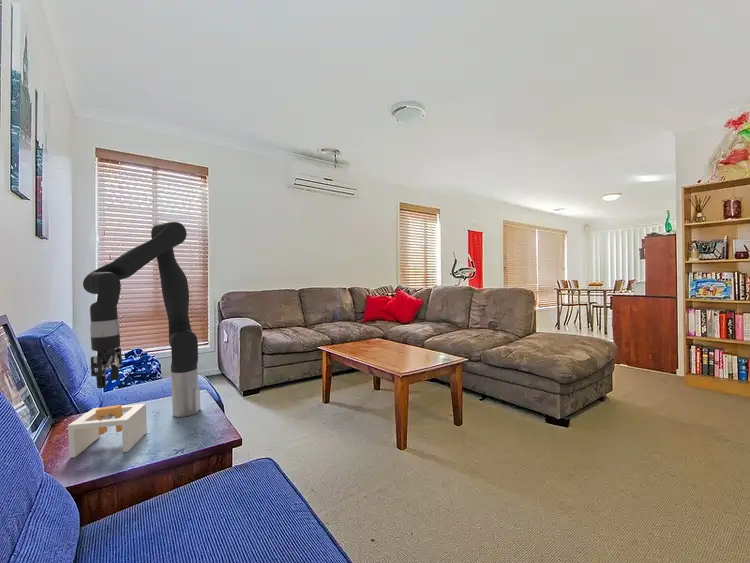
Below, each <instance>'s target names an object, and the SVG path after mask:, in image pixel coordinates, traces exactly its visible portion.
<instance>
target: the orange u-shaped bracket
mask: <svg viewBox="0 0 750 563" xmlns="http://www.w3.org/2000/svg"><path fill="white" fill-rule="evenodd" d="M122 406H123V405H122V404H119V405H110V406H109V405H108V406H104V407H98V408H99V409H97V410H96V417H97V420H101V419H102V418H104V417H105V416H106V415H111V414H114V416H113V418H114V419H117V418H120V417H122V416H123V415H124V414H123V412H122ZM98 431H99V435H100V436H101V435H104V434H105V433H107V432H108V426H107V427H98ZM115 432H116V433H120V432H121V433H122V425H118V426H115Z"/></svg>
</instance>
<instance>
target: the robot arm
mask: <svg viewBox="0 0 750 563" xmlns="http://www.w3.org/2000/svg"><path fill="white" fill-rule="evenodd" d="M150 231H151V233H150V237H151V239H149V240H148V241H146V242H143V243H141V244H140V245H137V246H135V247H133V248H131V249H129V250H127V251H125V252H124V253H123V254H121V255H120V256H118V257H117V258H115V259H114V260H113V261H111V262H109V263H108V264H105V265H103V266H101V267H98V268H96V269H95V270H93V271H91V272H89V273H88V274H87V275H86V276H85V277H84V279H83V282H82V287H83V289H84V290H85V291H86V292H87V293H88V294H92V295H97V298H96V302H93V303H91V304H90V308H89V314H90V327H89V328H90V331H89V332H90V344H91V346H90V347H91V351H94V352H97V354H96V356H91V357H90V372H91V373H90V374H91V377H95V379H96V388H97V389H104V388H106V387H107V380H106V379H107V378H106V374H107V370H109V369H110V370H109V372H110V380H111V381H118V380H119V379H120V371H119V368H120V367H121V365H123V357H122V356H123V355H122V348H121V336H120V335H121V333H120V332H121V331H120V323H119V319H118V317H119V315H118V303H119V298H120V294H121V292H122V290H121V289H122V285H121V284H122V283H121V280H124V279H128V278H130V277H132V276H133V275H134V274H135V273H137V272H138V271H139V270H140V269H141V270H142V268H143V267H145V266H146V265H147V264H149V263H150V262H152V261H153V260H154V259H156V261H157V268H158V274H159V278H160V288H161V294H162V298H163V304H164V308H165V311H166V315H167V316H166V317H167V320H168V343H169V347H170V350H171V351H170V352H171V364H170V371H171V372H170V376H171V377H170V378H171V380H170V382H171V401H172V402H171V404H172V411H171V412H172V416H173V417H175V418H176V417H177V418H182V417H183V418H184V417H190V416H193V415H197V414H198V413H199V411H200V410H201V389H200V385H199V382H198V381H199V380H198V378H199V377H198V364H199V342H198V337H197V335H196V334H195V332H193V331H192V327H191V322H190V317H189V316H190V315H189V306H190V289H189V282H188V278H187V276H186V274H185V272H184V270H183V269H182V268H181V266H180V265H179V264H178V261H177V259H176V256H175V252H174V247H178V246H179V245H180V244H183V242H185V240H186V239H187V234H188V233H187V228H186V227H185V226H184V225H183V224H182V223H181V222H178V221H165V222H160V223H156V224H155V225H153V227H152V228H151V230H150Z"/></svg>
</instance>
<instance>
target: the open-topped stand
mask: <svg viewBox="0 0 750 563" xmlns="http://www.w3.org/2000/svg"><path fill="white" fill-rule="evenodd" d="M121 406H122V413H124V412H125V413H124V414H123V416H122V417H120V418H117V419H115V418H114V414H111V415H105V417H104V418H102V419H101V420H97V417H96V410H97V409H99V408H100V407H93V408H91V410H89V411H88V412H86V413H84V414H83V415H81V416H80V417H78V418H77V419H75V420H74V421H72V422H71V423H69V424H68V425H67V433H68V449H69V450H68V452H69V453H68V454H69V457H68V458H69V459H71V458H76V457H77V456H78V455H80V454H81V453H82V452H83V451H85V450H86V449H87V448H89V447H90V446H91V445H92V444H93V443H95V441H97V440H98V439H99V438H101V435H99V431H98V427H107V428H108V427H116V426H118V425H122V431H121V436H122V437H121V438H122V452H123V453H128V452H130V451H131V450H132V448H133V447H134V446H135V445H136V444H137V443H138V442H139V441H140V440H141V439H142V438H143V437H145V436H144V435H146V433H148V423H147V403H139V404H137V403H136V404H128V405H121Z"/></svg>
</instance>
